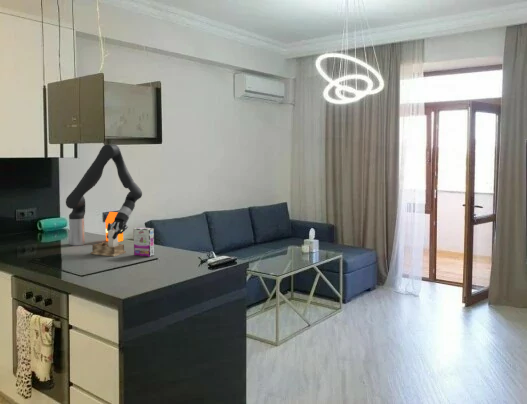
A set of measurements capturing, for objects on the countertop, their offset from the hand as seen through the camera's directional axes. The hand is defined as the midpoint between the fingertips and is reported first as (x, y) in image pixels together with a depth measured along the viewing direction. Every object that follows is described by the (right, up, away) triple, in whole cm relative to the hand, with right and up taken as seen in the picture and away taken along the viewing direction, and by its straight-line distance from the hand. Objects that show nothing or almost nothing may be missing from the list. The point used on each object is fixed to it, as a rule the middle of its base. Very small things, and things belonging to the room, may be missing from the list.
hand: (110, 238), depth 287 cm
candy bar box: (+20, -10, -1) cm, 23 cm away
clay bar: (+1, -7, +3) cm, 8 cm away
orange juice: (-11, -5, +44) cm, 46 cm away
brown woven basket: (-3, -10, +4) cm, 11 cm away
